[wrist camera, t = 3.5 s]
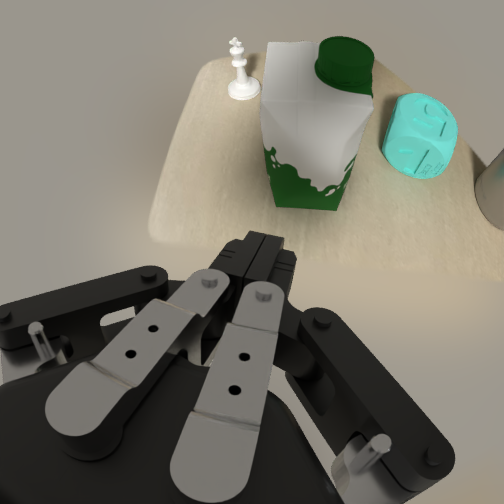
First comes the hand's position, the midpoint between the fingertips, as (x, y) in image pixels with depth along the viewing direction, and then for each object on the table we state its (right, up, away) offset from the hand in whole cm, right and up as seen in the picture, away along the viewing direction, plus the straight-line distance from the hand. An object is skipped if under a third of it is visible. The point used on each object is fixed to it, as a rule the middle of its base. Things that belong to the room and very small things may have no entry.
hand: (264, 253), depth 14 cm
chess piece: (-2, +24, +29) cm, 38 cm away
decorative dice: (+21, +13, +24) cm, 34 cm away
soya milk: (+6, +8, +24) cm, 26 cm away
